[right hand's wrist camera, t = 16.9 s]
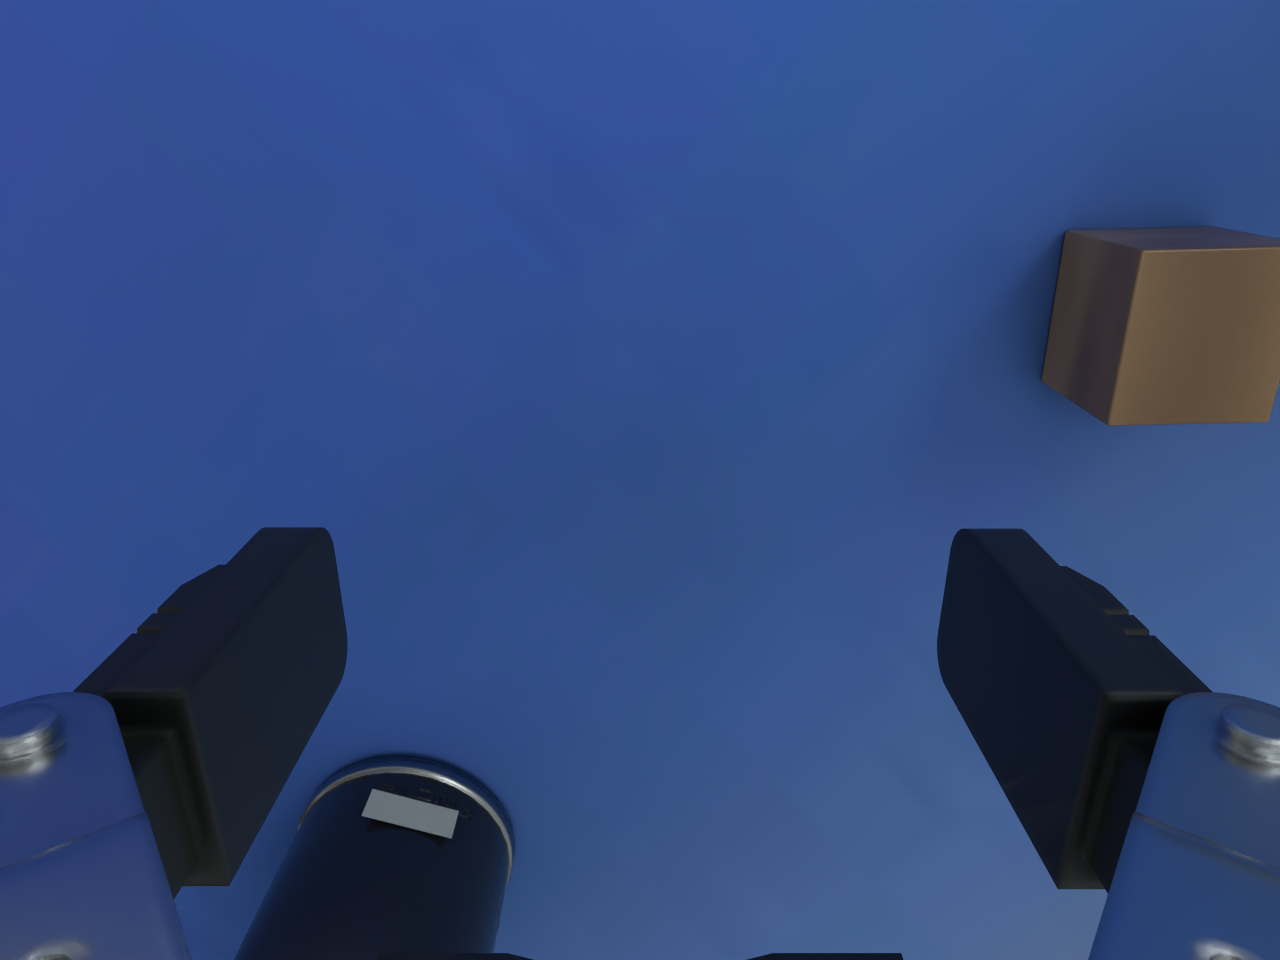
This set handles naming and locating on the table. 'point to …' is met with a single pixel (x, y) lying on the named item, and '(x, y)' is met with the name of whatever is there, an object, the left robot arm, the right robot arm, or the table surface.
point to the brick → (1167, 325)
